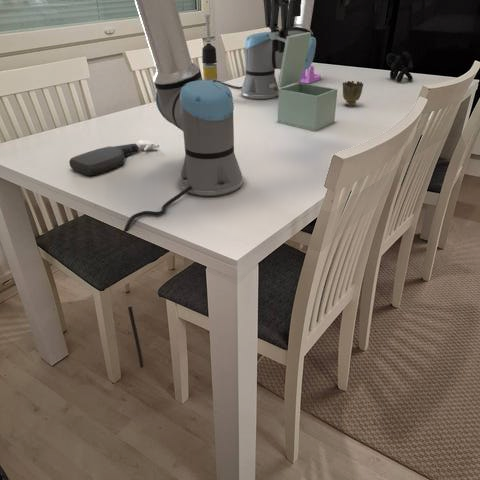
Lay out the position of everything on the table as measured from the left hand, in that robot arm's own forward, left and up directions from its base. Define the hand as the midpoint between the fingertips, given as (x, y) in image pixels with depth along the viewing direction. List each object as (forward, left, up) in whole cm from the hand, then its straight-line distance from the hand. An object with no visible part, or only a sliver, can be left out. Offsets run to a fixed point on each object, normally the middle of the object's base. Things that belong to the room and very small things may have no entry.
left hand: (317, 18), depth 118 cm
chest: (+17, +5, -34) cm, 38 cm away
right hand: (+22, +16, -12) cm, 30 cm away
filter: (+36, +48, -34) cm, 69 cm away
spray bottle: (-31, +48, -34) cm, 66 cm away
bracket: (+79, +16, -34) cm, 87 cm away
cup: (+42, -7, -34) cm, 54 cm away
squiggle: (+89, -22, -34) cm, 98 cm away
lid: (+19, +10, -14) cm, 26 cm away
